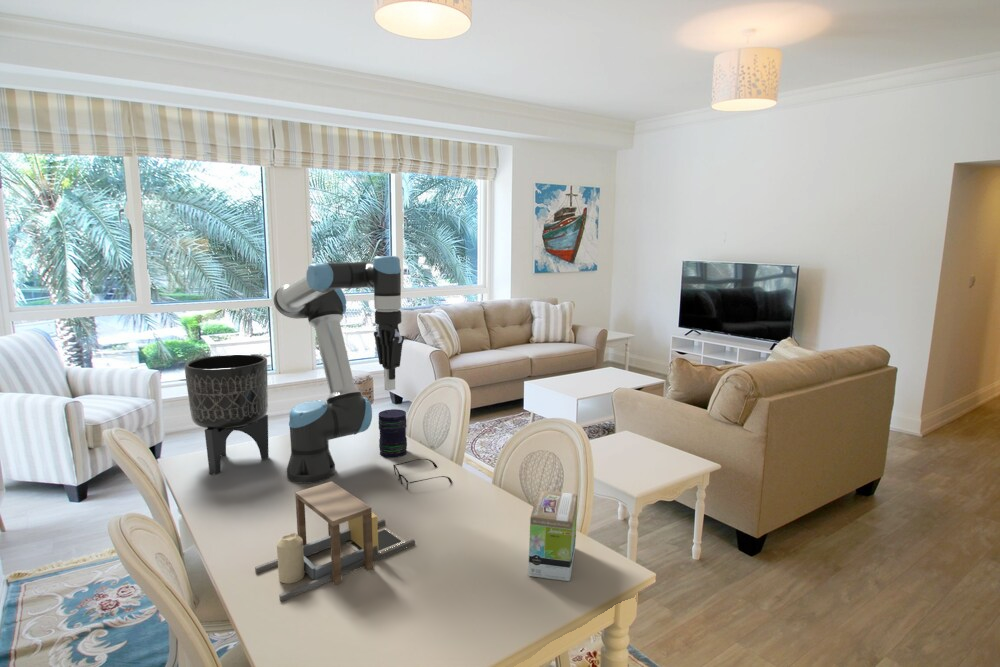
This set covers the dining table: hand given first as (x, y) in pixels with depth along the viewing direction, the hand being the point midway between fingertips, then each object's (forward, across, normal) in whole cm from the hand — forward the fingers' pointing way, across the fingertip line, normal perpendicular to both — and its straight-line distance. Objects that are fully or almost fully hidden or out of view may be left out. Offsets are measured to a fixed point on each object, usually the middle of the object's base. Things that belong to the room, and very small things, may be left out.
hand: (390, 389), depth 167 cm
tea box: (+33, -58, -8) cm, 67 cm away
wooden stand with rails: (+32, -22, +30) cm, 49 cm away
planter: (+33, +58, +27) cm, 72 cm away
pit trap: (+32, -22, +19) cm, 43 cm away
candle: (+33, -22, +41) cm, 57 cm away
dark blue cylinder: (+33, +28, -18) cm, 47 cm away
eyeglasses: (+33, +3, -13) cm, 36 cm away
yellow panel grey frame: (+32, -22, +30) cm, 49 cm away
